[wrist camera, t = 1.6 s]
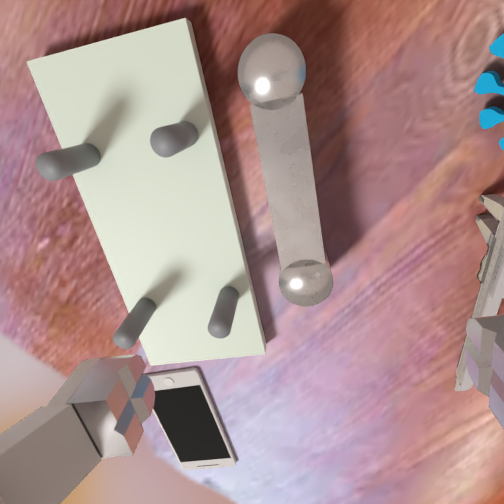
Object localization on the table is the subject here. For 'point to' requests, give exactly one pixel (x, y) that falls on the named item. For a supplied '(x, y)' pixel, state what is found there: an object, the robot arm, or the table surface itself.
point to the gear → (492, 90)
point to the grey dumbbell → (287, 164)
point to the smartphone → (190, 420)
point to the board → (154, 190)
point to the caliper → (487, 275)
